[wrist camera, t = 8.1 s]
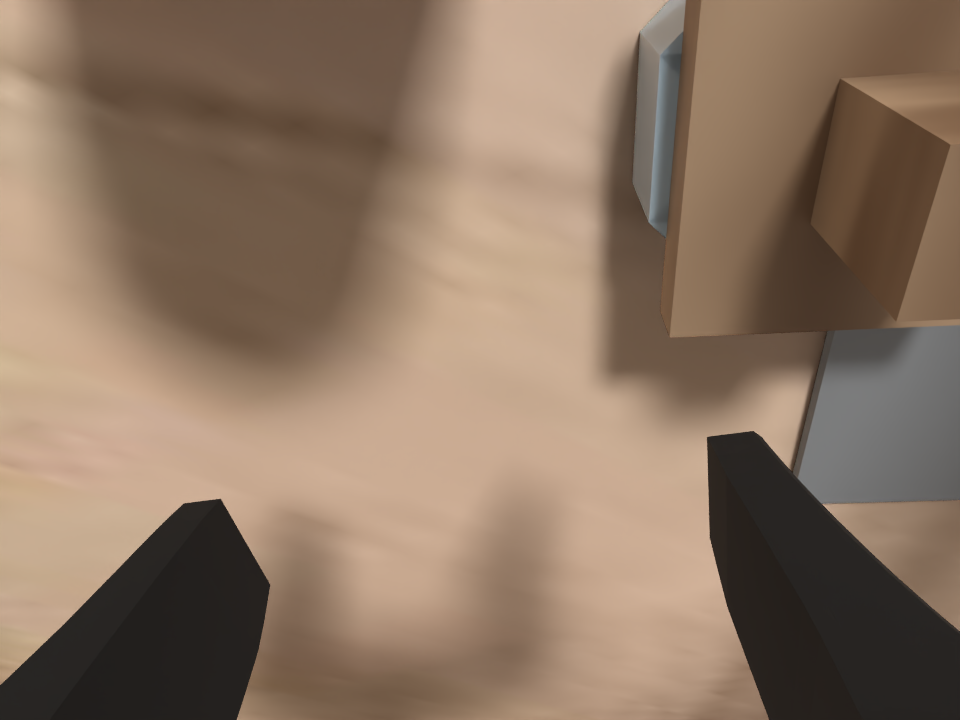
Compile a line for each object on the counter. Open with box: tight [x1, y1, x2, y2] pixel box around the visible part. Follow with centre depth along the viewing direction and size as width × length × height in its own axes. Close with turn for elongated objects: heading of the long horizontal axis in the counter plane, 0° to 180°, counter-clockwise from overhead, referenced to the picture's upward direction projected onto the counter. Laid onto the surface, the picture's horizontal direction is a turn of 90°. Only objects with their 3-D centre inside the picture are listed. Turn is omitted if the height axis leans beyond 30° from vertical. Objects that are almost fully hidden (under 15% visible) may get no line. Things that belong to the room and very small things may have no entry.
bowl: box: [632, 0, 686, 238], centre depth 15 cm, size 8×8×2 cm
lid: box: [660, 0, 960, 338], centre depth 12 cm, size 8×8×5 cm
